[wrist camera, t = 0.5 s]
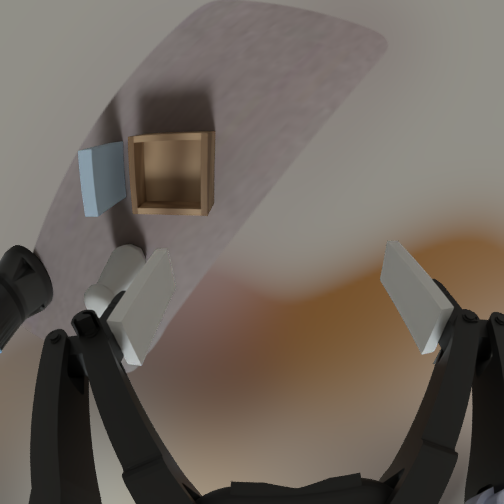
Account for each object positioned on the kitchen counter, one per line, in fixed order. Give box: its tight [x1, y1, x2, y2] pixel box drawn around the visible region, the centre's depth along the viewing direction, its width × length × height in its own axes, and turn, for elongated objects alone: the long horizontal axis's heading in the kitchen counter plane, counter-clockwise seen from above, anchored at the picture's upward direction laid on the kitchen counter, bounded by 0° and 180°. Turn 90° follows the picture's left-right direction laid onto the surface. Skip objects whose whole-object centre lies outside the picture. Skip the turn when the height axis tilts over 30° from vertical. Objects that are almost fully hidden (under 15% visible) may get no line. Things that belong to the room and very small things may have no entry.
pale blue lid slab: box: [78, 141, 126, 217], centre depth 30 cm, size 2×8×8 cm, turn 177°
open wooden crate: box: [128, 131, 215, 216], centre depth 31 cm, size 10×10×5 cm
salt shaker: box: [84, 244, 146, 317], centre depth 34 cm, size 6×6×13 cm
